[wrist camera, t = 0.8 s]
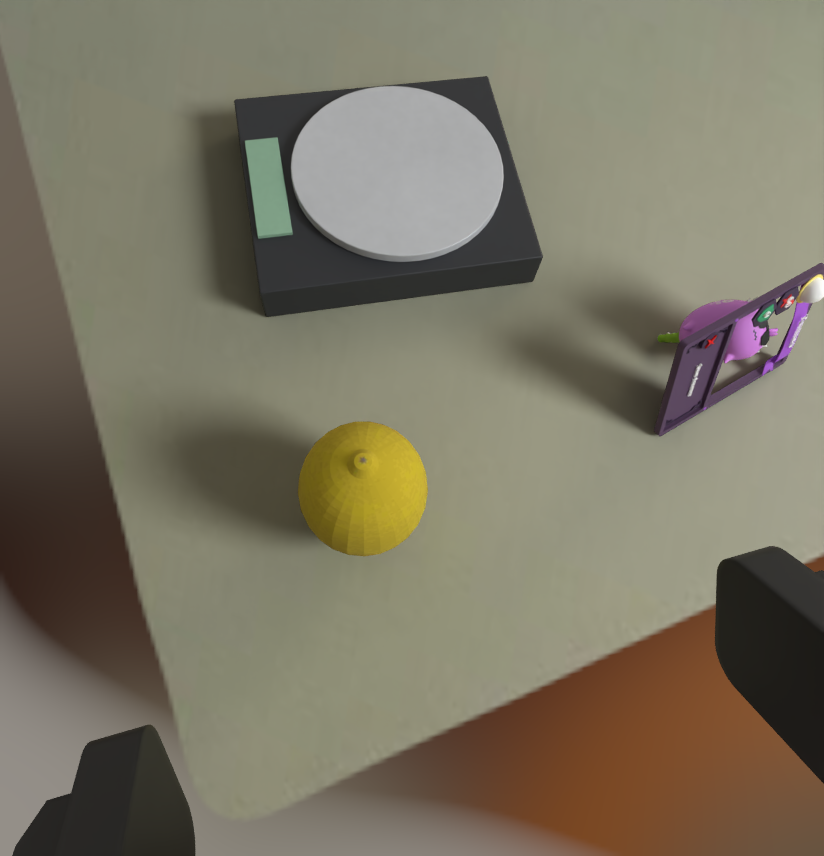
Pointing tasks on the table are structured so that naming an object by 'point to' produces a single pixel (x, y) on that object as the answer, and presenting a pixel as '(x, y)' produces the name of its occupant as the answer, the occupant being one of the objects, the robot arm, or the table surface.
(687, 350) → the purple toy
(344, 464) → the lemon
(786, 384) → the table surface
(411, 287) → the scale
